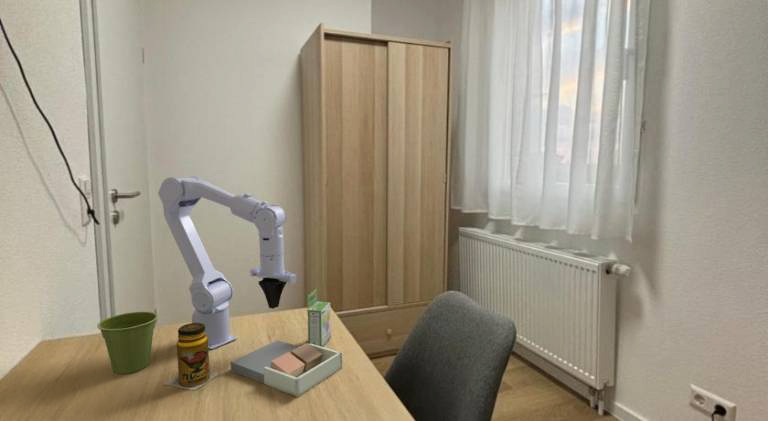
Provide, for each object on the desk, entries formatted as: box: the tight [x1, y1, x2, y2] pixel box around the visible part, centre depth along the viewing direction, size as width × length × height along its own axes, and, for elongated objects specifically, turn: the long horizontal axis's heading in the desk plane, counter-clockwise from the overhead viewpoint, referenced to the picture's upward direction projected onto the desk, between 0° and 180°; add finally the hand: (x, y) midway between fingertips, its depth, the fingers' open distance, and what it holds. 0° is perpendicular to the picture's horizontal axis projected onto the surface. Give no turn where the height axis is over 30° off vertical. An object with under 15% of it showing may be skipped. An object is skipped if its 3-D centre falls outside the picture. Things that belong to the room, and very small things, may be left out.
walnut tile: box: [291, 342, 323, 372], centre depth 94 cm, size 5×5×2 cm
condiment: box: [163, 322, 220, 391], centre depth 89 cm, size 7×8×12 cm
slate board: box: [230, 339, 300, 384], centre depth 96 cm, size 11×14×2 cm
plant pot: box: [96, 311, 159, 375], centre depth 95 cm, size 12×12×11 cm
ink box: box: [306, 288, 332, 347], centre depth 107 cm, size 7×4×13 cm, turn 168°
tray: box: [263, 343, 343, 398], centre depth 90 cm, size 10×14×4 cm
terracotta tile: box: [270, 352, 305, 377], centre depth 89 cm, size 5×5×2 cm
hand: (273, 307), depth 104 cm, fingers closed
